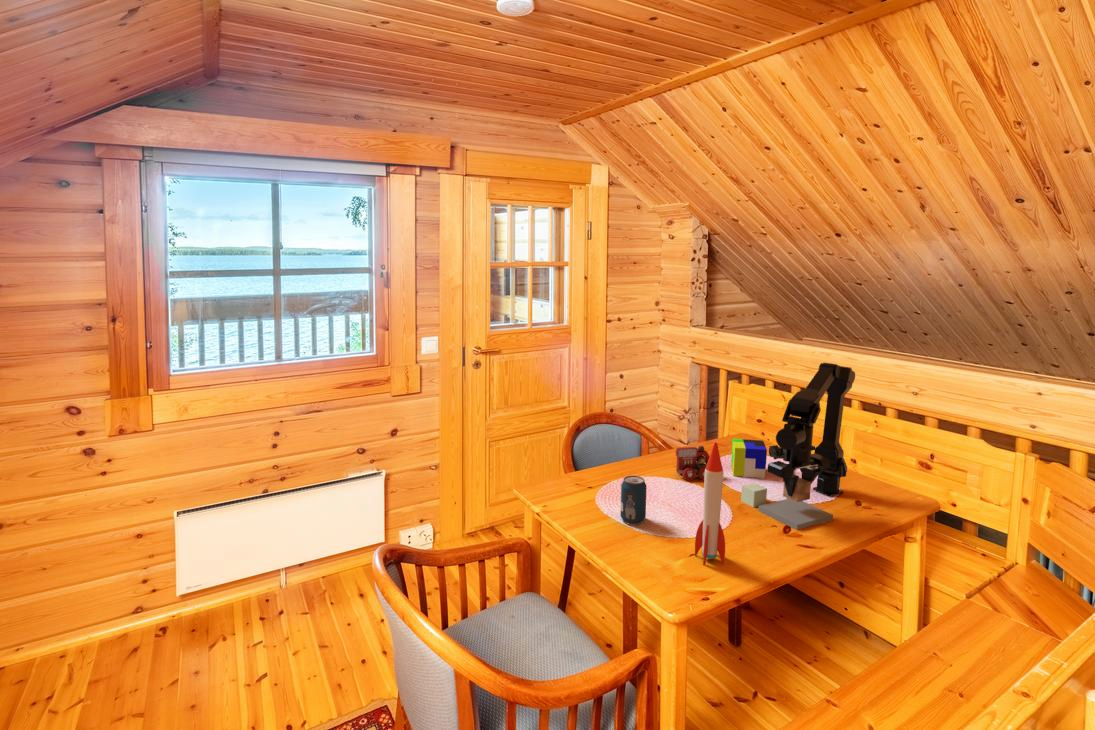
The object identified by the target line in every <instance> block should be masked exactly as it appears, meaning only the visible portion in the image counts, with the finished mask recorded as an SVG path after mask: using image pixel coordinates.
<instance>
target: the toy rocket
mask: <svg viewBox="0 0 1095 730" xmlns="http://www.w3.org/2000/svg"><path fill="white" fill-rule="evenodd" d="M703 481H704V482H703V483H704V484H703V508H702V509H703V514H702V516H703V518H702V520H701V522H700V523H699V525H698V527H697V529H696V535H695V538H694V539H695V541H694V556H695V557H696V556H697V555H698V553H699V551H700V549H702V552H701V553H702V557H703V558H702V559H703V561H702V563H703V564H702V566H705V565H706V563H707V559H709V560H710V559H711V560H712V559H716V558H717V556H718V555H719V557H720V561H721V563H722V564H723V565H724V564H725V558H726V557H725V556H726V539H725V534H724V530H723V528H722V525H721V522H720V521H721V509H722V497H723V496H722V495H723V487H724V486H723V485H724V469H723V465H722V460H721V455H720V450H719V446H718V442H716V441H715V442H714V443H713V446H712V448H711V452H710V454H709V460H708V463H707V466H706V469H705V475H704V480H703Z"/></svg>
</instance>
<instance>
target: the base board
mask: <svg viewBox="0 0 1095 730" xmlns="http://www.w3.org/2000/svg"><path fill="white" fill-rule="evenodd" d="M758 512H760V513H762V514H764V515H766V516H767V517H770V518H772V519H775V520H776V521H778V522H780V523H782V524H784V525H786V526H788V527H791V528H792V529H795V530H796V531H798V530H802V529H805V528H808V527H813V526H816V525H820V524H824V523H827V522H830V521H834V514H833V513H830V512H828V511H825V510H823V509H821V508H819V507H817V506H814V505H812V504H809V503H808V502H805V501H800V502H795V501H793V500H791V499H788V498H785V499H781V500H777V501H774V502H768V503H766V504H764V505H760V506H758Z"/></svg>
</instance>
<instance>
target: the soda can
mask: <svg viewBox="0 0 1095 730" xmlns="http://www.w3.org/2000/svg"><path fill="white" fill-rule="evenodd" d="M620 487H621V488H620V517H621V520H622V521H623V522H624V523H625V522H626V523H625V524H627V523H629V524H628V525H633V524H635V525H640V524H642V523H643V522H644V520H645V519H646V515H647V513H646V512H647V484H646V481H645V478H643V477H641V476H640V475H639V476H638V475H628V476H625V477H624V478H623V481H622V483H621V484H620ZM641 522H642V523H641ZM639 523H640V524H639Z"/></svg>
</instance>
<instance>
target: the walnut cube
mask: <svg viewBox="0 0 1095 730" xmlns="http://www.w3.org/2000/svg"><path fill="white" fill-rule="evenodd" d="M811 487H812V484H811V482H809V481H807V480H804V479H802V477H799V478H798V481H797V484H796V487H795V490H794V493H793V495H792V496H788V493H787V490H786V487H785V483H784V482H783V489H782V490H783V493H782V497H785V499H791V500H793V501H795V502H800V501H803V502H805V501H808V500H810V499H811V491H812V490H811Z"/></svg>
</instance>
